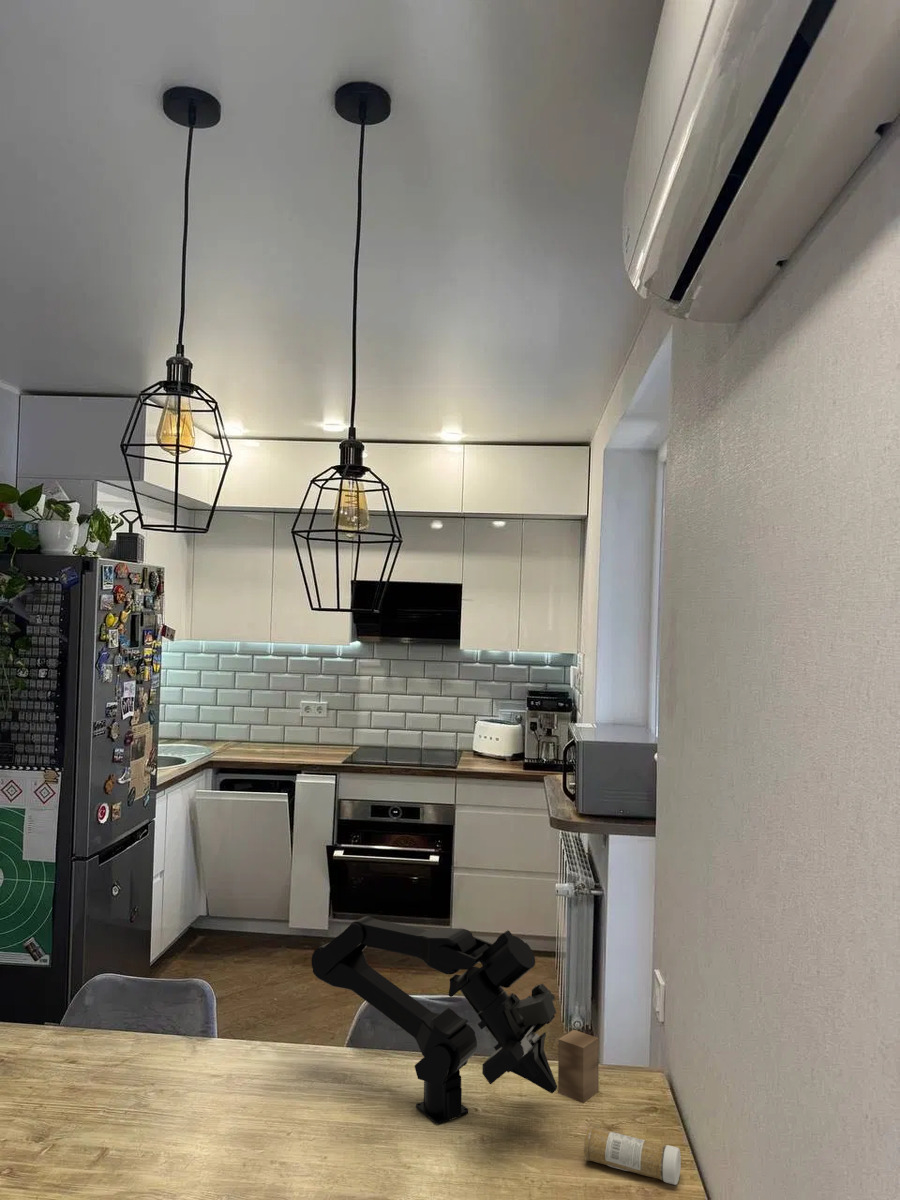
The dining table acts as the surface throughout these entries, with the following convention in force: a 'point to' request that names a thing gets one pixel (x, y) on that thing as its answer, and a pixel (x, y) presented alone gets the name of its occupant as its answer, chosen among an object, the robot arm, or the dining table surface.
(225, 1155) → the dining table surface
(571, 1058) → the walnut block
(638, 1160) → the sprinkles bottle
